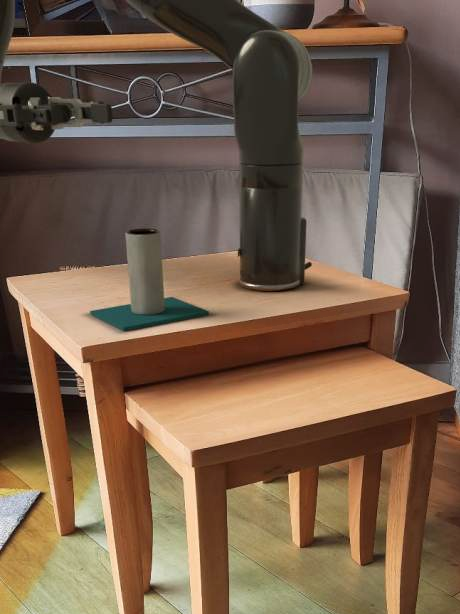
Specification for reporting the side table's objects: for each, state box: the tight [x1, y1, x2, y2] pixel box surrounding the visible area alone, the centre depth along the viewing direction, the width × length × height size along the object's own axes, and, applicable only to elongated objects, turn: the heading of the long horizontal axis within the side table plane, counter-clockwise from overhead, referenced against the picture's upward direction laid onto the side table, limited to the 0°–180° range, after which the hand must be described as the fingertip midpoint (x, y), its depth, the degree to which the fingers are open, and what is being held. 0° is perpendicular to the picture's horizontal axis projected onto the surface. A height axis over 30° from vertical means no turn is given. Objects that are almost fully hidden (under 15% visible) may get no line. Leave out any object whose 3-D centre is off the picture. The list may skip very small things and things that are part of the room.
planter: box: [124, 228, 165, 315], centre depth 99 cm, size 4×4×10 cm
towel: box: [89, 296, 210, 332], centre depth 102 cm, size 13×10×1 cm
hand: (83, 114), depth 97 cm, fingers open, 8 cm apart
